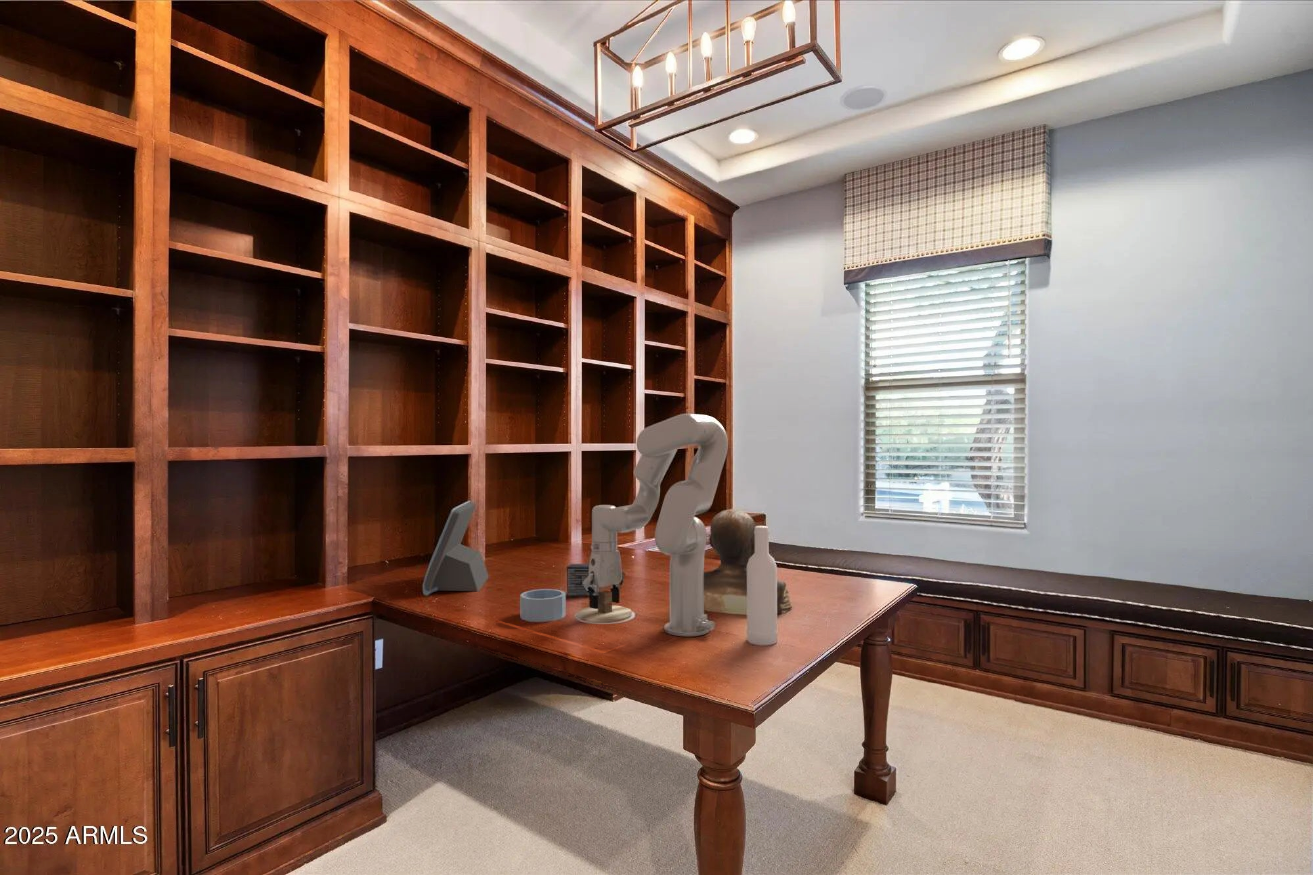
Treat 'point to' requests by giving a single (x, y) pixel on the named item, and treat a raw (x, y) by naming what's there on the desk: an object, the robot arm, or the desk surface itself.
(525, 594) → the bowl
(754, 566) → the bottle
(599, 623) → the mat
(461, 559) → the touchscreen device
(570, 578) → the small box
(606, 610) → the lid
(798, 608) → the desk surface
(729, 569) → the portrait bust
